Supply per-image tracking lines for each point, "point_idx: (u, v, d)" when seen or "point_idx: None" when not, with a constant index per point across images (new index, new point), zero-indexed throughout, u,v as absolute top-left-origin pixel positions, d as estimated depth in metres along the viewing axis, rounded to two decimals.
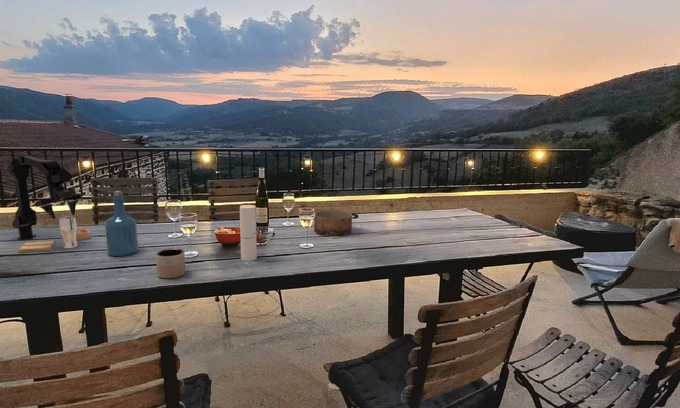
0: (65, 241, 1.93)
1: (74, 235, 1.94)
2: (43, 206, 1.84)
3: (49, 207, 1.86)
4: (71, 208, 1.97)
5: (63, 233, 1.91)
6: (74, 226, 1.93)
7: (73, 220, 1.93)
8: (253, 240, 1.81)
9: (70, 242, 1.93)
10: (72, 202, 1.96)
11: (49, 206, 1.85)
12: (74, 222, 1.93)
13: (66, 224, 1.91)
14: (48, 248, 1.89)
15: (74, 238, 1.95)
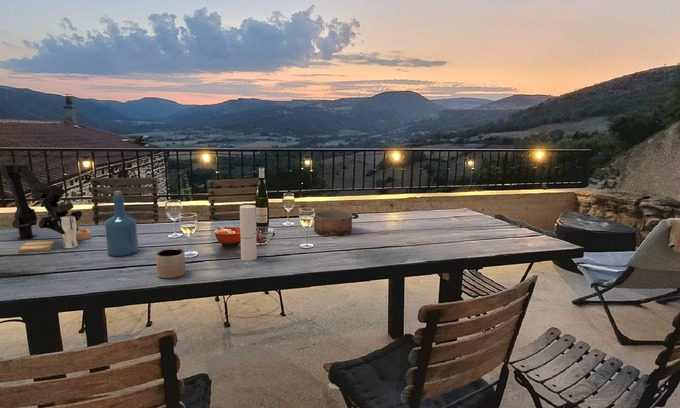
0: (65, 241, 1.93)
1: (74, 235, 1.94)
2: (49, 223, 1.88)
3: (55, 223, 1.89)
4: None
5: None
6: (74, 226, 1.93)
7: (73, 220, 1.93)
8: (253, 240, 1.81)
9: (70, 242, 1.93)
10: None
11: (54, 222, 1.89)
12: (74, 222, 1.93)
13: (66, 224, 1.91)
14: (48, 248, 1.89)
15: (74, 238, 1.95)
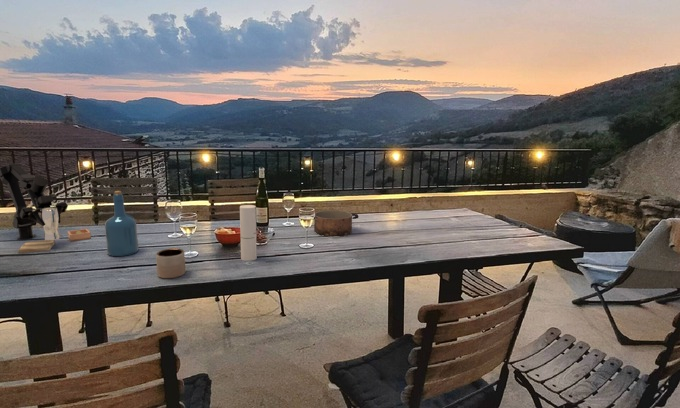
0: (46, 233, 1.89)
1: (55, 227, 1.90)
2: (29, 214, 1.85)
3: (35, 214, 1.86)
4: None
5: None
6: (55, 218, 1.89)
7: (54, 212, 1.89)
8: (253, 240, 1.81)
9: (50, 234, 1.90)
10: None
11: (35, 213, 1.86)
12: (55, 214, 1.89)
13: (46, 216, 1.87)
14: (48, 248, 1.89)
15: (55, 230, 1.91)
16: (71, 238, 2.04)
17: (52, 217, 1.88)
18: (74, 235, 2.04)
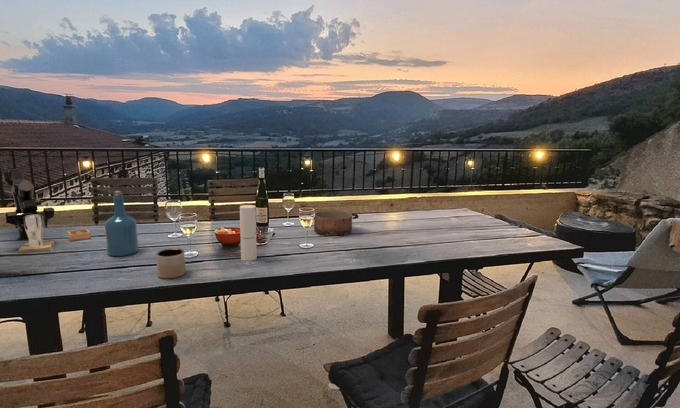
0: (29, 240, 1.88)
1: (38, 234, 1.89)
2: (10, 219, 1.84)
3: (15, 219, 1.85)
4: (44, 222, 1.93)
5: (26, 232, 1.87)
6: (37, 225, 1.88)
7: (36, 219, 1.87)
8: (253, 240, 1.81)
9: (33, 241, 1.88)
10: (44, 215, 1.94)
11: (15, 218, 1.85)
12: (37, 221, 1.88)
13: (28, 223, 1.86)
14: (48, 248, 1.89)
15: (38, 237, 1.89)
16: (71, 238, 2.04)
17: (34, 224, 1.87)
18: (74, 235, 2.04)
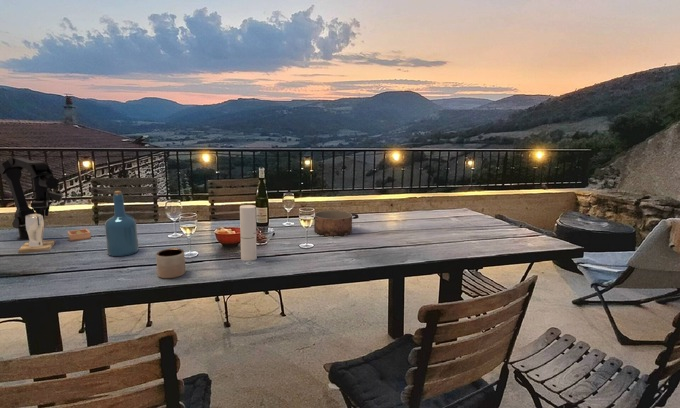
0: (29, 239, 1.88)
1: (39, 234, 1.89)
2: (41, 207, 1.90)
3: (45, 208, 1.92)
4: (45, 209, 2.01)
5: (27, 231, 1.87)
6: (39, 225, 1.88)
7: (38, 219, 1.87)
8: (253, 240, 1.81)
9: (33, 241, 1.88)
10: (48, 203, 2.02)
11: (46, 208, 1.92)
12: (39, 221, 1.88)
13: (30, 223, 1.86)
14: (48, 248, 1.89)
15: (39, 237, 1.89)
16: (71, 238, 2.04)
17: (35, 224, 1.87)
18: (74, 235, 2.04)
